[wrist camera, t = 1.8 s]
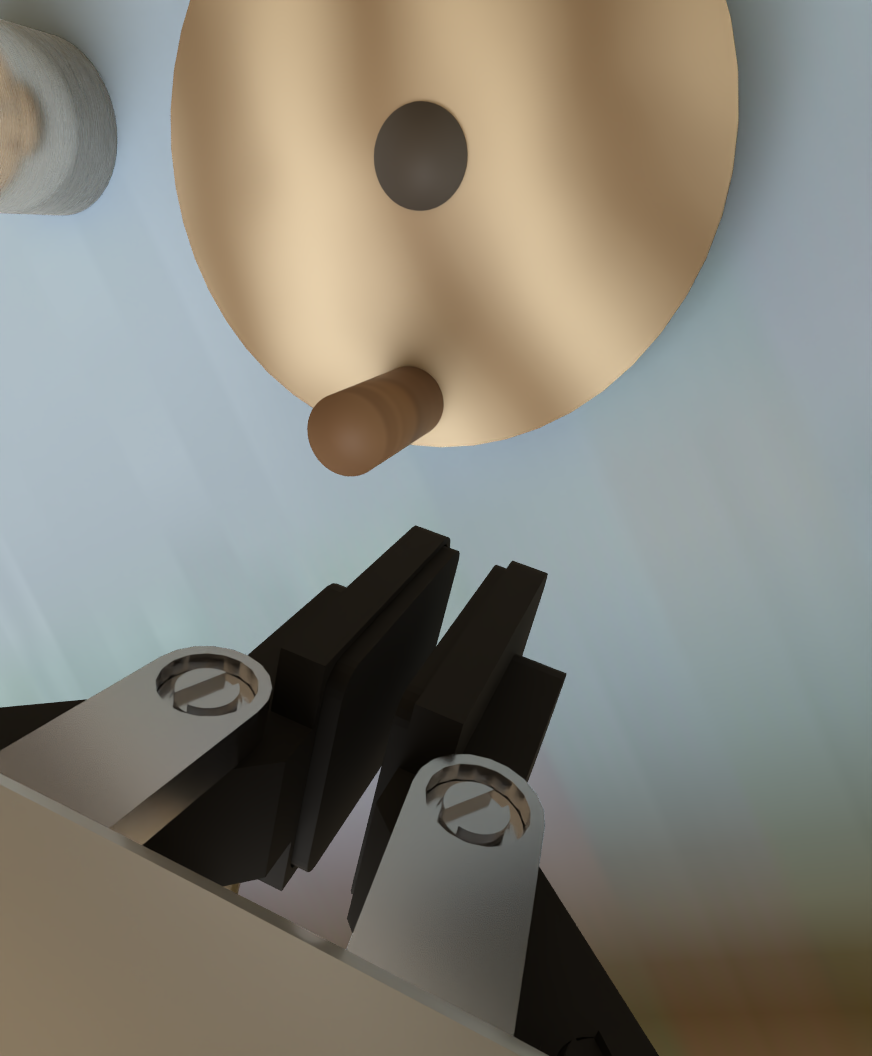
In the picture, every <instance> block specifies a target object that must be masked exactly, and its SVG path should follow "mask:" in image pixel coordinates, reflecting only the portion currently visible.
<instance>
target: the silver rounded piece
mask: <svg viewBox="0 0 872 1056" xmlns="http://www.w3.org/2000/svg"><path fill="white" fill-rule="evenodd" d="M116 153H117V128H116V120H115V115H114V110H113V106H112V103H111V100H110V97H109V94H108V91H107V89H106V87H105V84H104V82H103V80H102V79H101V77H100V75H99V73H98V71H97V70H96V69H95V67H94V66H93V64H92V63H91V62H90V60H89V59H88V58H87V57H86V56H85V55H84V54H83V53H82V52H81V51H80V50H79V49H78V48H77V47H75V46H74V45H73V44H71V43H70V42H68V41H67V40H65V39H62V38H60V37H58V36H55V35H52V34H49V33H45V32H42V31H39V30H35V29H32V28H29V27H25V26H22V25H19V24H15V23H12V22H9V21H5V20H2V19H0V213H5V214H33V215H72V214H76V213H79V212H81V211H84V210H85V209H87V208H88V207H90V206H91V205H92V204H93V203H95V202H96V201H97V200H98V198H99V197H100V196H101V195H102V193H103V192H104V190H105V188H106V187H107V185H108V183H109V180H110V178H111V176H112V172H113V169H114V165H115V159H116Z"/></svg>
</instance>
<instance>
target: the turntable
mask: <svg viewBox="0 0 872 1056" xmlns="http://www.w3.org/2000/svg"><path fill="white" fill-rule="evenodd" d="M737 131H738V66H737V58H736V51H735V44H734V37H733V30H732V23H731V17H730V13H729V10H728V6H727V3H726V0H190V3H189V6H188V10H187V13H186V17H185V20H184V23H183V27H182V30H181V36H180V41H179V46H178V52H177V57H176V62H175V68H174V77H173V89H172V101H171V150H172V159H173V167H174V176H175V185H176V190H177V195H178V200H179V204H180V209H181V213H182V218H183V223H184V226H185V229H186V232H187V235H188V238H189V242H190V245H191V248H192V251H193V254H194V257H195V260H196V262H197V264H198V266H199V269H200V271H201V273H202V276H203V278H204V280H205V282H206V285H207V287H208V289H209V291H210V293H211V295H212V297H213V298H214V300H215V302H216V304H217V305H218V307H219V309H220V311H221V312H222V314H223V316H224V318H225V319H226V321H227V322H228V324H229V325H230V327H231V328H232V329H233V331H234V332H235V333H236V335H237V336H238V338H239V339H240V340H241V342H242V343H243V345H244V346H245V347H246V349H247V350H248V351H249V352H250V353H251V354H252V355H253V356H254V357H255V359H256V360H257V361H258V362H259V363H260V364H261V365H262V366H263V367H264V368H265V370H266V371H267V372H268V373H269V374H270V375H272V376H273V377H274V378H275V379H276V380H277V381H278V382H280V383H281V384H282V385H283V386H284V387H285V388H286V389H288V390H289V391H290V392H291V393H292V394H293V395H295V396H296V397H298V398H299V399H301V400H302V401H304V402H305V403H307V404H308V405H309V406H311V407H312V408H313V410H312V412H311V414H310V417H309V420H308V429H307V430H308V439H309V443H310V446H311V448H312V450H313V452H314V454H315V456H316V457H317V458H318V460H319V461H320V462H321V463H322V464H323V465H324V466H325V467H326V468H328V469H329V470H331V471H333V472H334V473H337V474H339V475H343V476H358V475H362V474H364V473H366V472H368V471H370V470H371V469H373V468H374V467H376V466H377V465H379V464H381V463H382V462H384V461H385V460H387V459H388V458H390V457H391V456H393V455H394V454H396V453H398V452H399V451H401V450H402V449H404V448H405V447H407V446H408V445H421V446H433V447H452V446H471V445H478V444H483V443H488V442H494V441H499V440H504V439H508V438H511V437H514V436H517V435H520V434H523V433H526V432H529V431H532V430H535V429H538V428H540V427H542V426H544V425H546V424H548V423H550V422H552V421H554V420H556V419H558V418H560V417H563V416H565V415H567V414H569V413H571V412H572V411H574V410H575V409H577V408H578V407H580V406H581V405H583V404H584V403H586V402H587V401H589V400H590V399H592V398H593V397H595V396H596V395H598V394H599V393H601V392H602V391H604V390H605V389H606V388H607V387H608V386H609V385H610V384H612V383H613V382H614V381H615V380H616V379H617V378H618V377H620V376H621V375H622V374H623V373H624V372H625V371H626V370H628V369H629V368H630V367H631V366H632V365H633V364H634V363H635V362H636V361H637V360H638V358H639V357H640V356H641V355H642V354H643V353H644V352H645V351H646V349H647V348H648V347H649V346H650V345H651V344H652V343H653V341H654V340H655V339H656V338H657V337H658V336H659V335H660V333H661V332H662V331H663V329H664V328H665V327H666V325H667V324H668V322H669V321H670V319H671V318H672V316H673V315H674V313H675V312H676V311H677V309H678V308H679V306H680V305H681V303H682V302H683V300H684V299H685V297H686V296H687V294H688V292H689V290H690V288H691V287H692V285H693V283H694V281H695V279H696V277H697V275H698V273H699V271H700V269H701V267H702V265H703V263H704V262H705V260H706V258H707V255H708V252H709V250H710V247H711V244H712V242H713V239H714V236H715V234H716V231H717V228H718V226H719V223H720V220H721V218H722V215H723V210H724V206H725V202H726V198H727V194H728V190H729V186H730V181H731V177H732V173H733V166H734V157H735V149H736V140H737Z"/></svg>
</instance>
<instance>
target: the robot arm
mask: <svg viewBox="0 0 872 1056" xmlns="http://www.w3.org/2000/svg"><path fill="white" fill-rule="evenodd" d="M459 554H460V553H459V551H457V550H454V549H451V548H450V538H449V537H446V536H443V535H440V534H438V533H435V532H432V531H429V530H427V529H424V528H421V527H418V526H414V527H412V528H411V529H410V530H409V531H408V532H407V533H406V534H405V535H404V536H402V537H401V538H400V539H399V540H398V541H397V542H396V543H395V544H394V545H393V546H391V547H390V548H389V549H388V550H387V551H386V552H385V553H384V554H383V555H382V556H381V557H379V558H378V559H377V560H376V561H375V562H374V563H373V564H372V565H371V566H370V567H368V568H367V569H366V570H365V571H364V572H363V573H362V574H361V575H360V576H359V577H357V578H356V579H355V580H354V581H353V582H352V583H351V584H350V585H349V586H348V587H347V588H346V587H344V586H341V585H339V584H334V583H332V584H331V585H329V586H327V587H326V588H325V589H324V590H322V591H321V592H320V593H319V594H318V595H317V596H316V597H314V598H313V599H312V600H311V601H310V602H309V603H307V604H306V605H305V606H304V607H303V608H302V609H300V610H299V611H298V612H297V613H296V614H295V615H294V616H292V617H291V618H290V619H289V620H288V621H287V622H285V623H284V624H283V625H282V626H281V627H280V628H279V629H277V630H276V631H275V632H274V633H273V634H272V635H270V636H269V637H268V638H267V639H266V640H265V641H264V642H262V643H261V644H260V645H259V646H258V647H257V648H255V649H254V650H253V651H252V652H251V653H250V654H249V655H245V654H243V653H240V652H238V651H235V650H232V649H227V648H221V647H216V646H194V647H189V648H183V649H178V650H175V651H172V652H170V653H168V654H165V655H163V656H161V657H159V658H157V659H156V660H154V661H152V662H150V663H149V664H147V665H145V666H144V667H142V668H140V669H138V670H137V671H135V672H133V673H132V674H130V675H128V676H127V677H125V678H123V679H121V680H120V681H118V682H116V683H115V684H113V685H111V686H110V687H108V688H106V689H104V690H103V691H101V692H99V693H98V694H96V695H94V696H92V697H91V698H89V699H86V700H76V701H65V702H54V703H44V704H33V705H23V706H12V707H2V708H0V1056H659V1055H658V1054H657V1052H656V1050H655V1049H654V1047H653V1046H652V1044H651V1043H650V1041H649V1039H648V1038H647V1036H646V1035H645V1033H644V1032H643V1030H642V1028H641V1027H640V1025H639V1024H638V1022H637V1020H636V1019H635V1017H634V1016H633V1014H632V1013H631V1011H630V1009H629V1008H628V1006H627V1005H626V1003H625V1001H624V1000H623V998H622V997H621V995H620V994H619V992H618V990H617V989H616V987H615V986H614V984H613V983H612V981H611V979H610V978H609V976H608V975H607V973H606V971H605V970H604V968H603V967H602V965H601V964H600V962H599V960H598V959H597V957H596V956H595V954H594V953H593V951H592V949H591V948H590V946H589V945H588V943H587V941H586V940H585V938H584V937H583V935H582V934H581V932H580V930H579V929H578V927H577V926H576V924H575V922H574V921H573V919H572V918H571V916H570V915H569V913H568V911H567V910H566V908H565V907H564V905H563V904H562V902H561V900H560V899H559V897H558V896H557V894H556V892H555V891H554V889H553V888H552V886H551V885H550V883H549V881H548V880H547V878H546V877H545V875H544V873H543V872H542V870H541V869H540V867H539V863H540V856H541V849H542V842H543V836H544V829H545V820H544V809H543V807H542V805H541V802H540V800H539V798H538V796H537V794H536V793H535V791H534V790H533V789H532V788H531V787H530V785H529V784H528V783H527V782H528V780H529V777H530V774H531V772H532V769H533V766H534V764H535V761H536V758H537V755H538V753H539V750H540V747H541V744H542V742H543V739H544V736H545V733H546V731H547V728H548V725H549V722H550V719H551V717H552V714H553V711H554V708H555V705H556V703H557V700H558V697H559V694H560V691H561V689H562V686H563V683H564V680H565V677H566V673H564V672H561V671H559V670H556V669H553V668H551V667H548V666H546V665H543V664H541V663H538V662H536V661H533V660H530V659H528V658H525V657H523V656H522V655H523V652H524V649H525V645H526V642H527V639H528V636H529V633H530V630H531V627H532V624H533V621H534V618H535V614H536V611H537V608H538V605H539V602H540V599H541V596H542V593H543V590H544V586H545V583H546V579H547V575H548V574H547V573H545V572H542V571H540V570H537V569H534V568H531V567H529V566H526V565H523V564H520V563H518V562H515V561H512V562H511V563H510V564H509V566H508V567H507V569H506V568H503V567H500V566H498V565H495V566H494V567H493V569H492V570H491V571H490V573H489V574H488V576H487V577H486V578H485V580H484V581H483V582H482V584H481V585H480V587H479V588H478V589H477V591H476V592H475V594H474V595H473V596H472V598H471V599H470V600H469V602H468V603H467V605H466V606H465V607H464V609H463V610H462V612H461V613H460V614H459V616H458V617H457V619H456V620H455V621H454V623H453V624H452V625H451V627H450V628H449V630H448V631H447V632H446V634H445V635H444V637H443V638H442V639H441V641H440V642H439V643H438V645H437V641H438V637H439V633H440V629H441V626H442V622H443V618H444V614H445V610H446V607H447V603H448V599H449V595H450V591H451V588H452V584H453V580H454V576H455V573H456V569H457V565H458V561H459ZM436 645H437V646H436ZM381 766H382V767H381ZM380 767H381V771H380V775H379V779H378V783H377V787H376V791H375V795H374V799H373V803H372V807H371V811H370V815H369V819H368V823H367V827H366V831H365V836H364V840H363V844H362V848H361V852H360V856H359V860H358V864H357V868H356V872H355V876H354V880H353V884H352V889H351V894H353V897H352V901H351V905H350V909H349V913H348V917H347V920H348V923H349V925H350V928H351V931H352V933H353V934H352V937H351V939H350V942H349V944H348V947H347V949H346V950H345V949H343V948H341V947H339V946H337V945H335V944H334V943H332V942H330V941H328V940H326V939H324V938H322V937H320V936H318V935H316V934H314V933H312V932H310V931H308V930H306V929H305V928H303V927H301V926H299V925H297V924H295V923H293V922H291V921H289V920H287V919H285V918H283V917H281V916H279V915H277V914H275V913H273V912H272V911H270V910H268V909H266V908H264V907H262V906H260V905H258V904H256V903H254V902H252V901H250V900H248V899H246V898H244V897H242V896H240V895H238V891H239V887H240V883H242V882H247V881H251V880H256V879H258V880H260V881H262V882H264V883H266V884H268V885H270V886H272V887H274V888H276V889H278V890H280V891H282V890H283V889H284V887H285V886H286V884H287V883H288V881H289V880H290V878H291V877H292V875H293V874H294V873H295V871H296V870H297V868H300V869H303V870H305V871H307V872H310V871H311V870H312V869H313V868H314V867H315V865H316V864H317V863H318V861H319V860H320V858H321V856H322V855H323V853H324V852H325V850H326V849H327V847H328V846H329V844H330V843H331V841H332V840H333V838H334V837H335V835H336V834H337V832H338V831H339V829H340V828H341V826H342V825H343V823H344V822H345V820H346V819H347V817H348V816H349V814H350V813H351V811H352V810H353V808H354V807H355V805H356V804H357V802H358V801H359V799H360V798H361V796H362V795H363V793H364V792H365V790H366V789H367V787H368V786H369V784H370V783H371V781H372V779H373V778H374V776H375V775H376V773H377V772H378V770H379V769H380Z"/></svg>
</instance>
